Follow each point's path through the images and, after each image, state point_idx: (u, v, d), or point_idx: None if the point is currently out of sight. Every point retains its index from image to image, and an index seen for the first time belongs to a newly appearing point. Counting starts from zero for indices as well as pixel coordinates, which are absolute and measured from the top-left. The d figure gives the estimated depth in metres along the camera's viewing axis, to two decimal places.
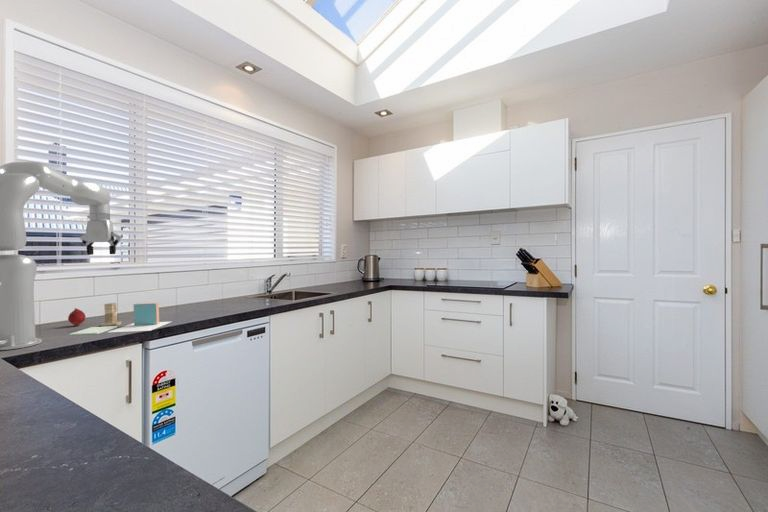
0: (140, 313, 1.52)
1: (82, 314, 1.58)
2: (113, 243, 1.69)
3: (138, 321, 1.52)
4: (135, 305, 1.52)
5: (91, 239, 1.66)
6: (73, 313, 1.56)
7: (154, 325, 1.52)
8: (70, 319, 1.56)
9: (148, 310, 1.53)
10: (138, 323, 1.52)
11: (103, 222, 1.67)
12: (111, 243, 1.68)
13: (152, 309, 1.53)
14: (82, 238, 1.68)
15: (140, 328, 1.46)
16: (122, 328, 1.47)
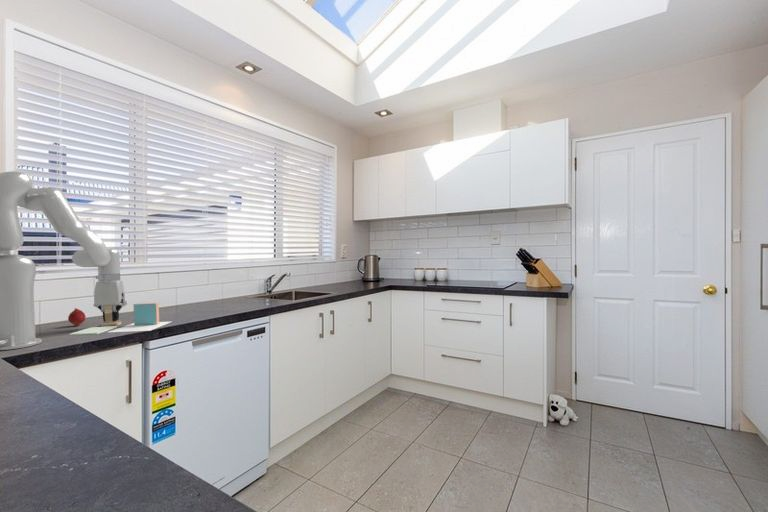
0: (140, 313, 1.52)
1: (82, 314, 1.58)
2: (116, 310, 1.54)
3: (138, 321, 1.52)
4: (135, 305, 1.52)
5: (100, 302, 1.52)
6: (73, 313, 1.56)
7: (154, 325, 1.52)
8: (70, 319, 1.56)
9: (148, 310, 1.53)
10: (138, 323, 1.52)
11: (113, 284, 1.53)
12: (114, 309, 1.54)
13: (152, 309, 1.53)
14: (96, 305, 1.54)
15: (140, 328, 1.46)
16: (122, 328, 1.47)
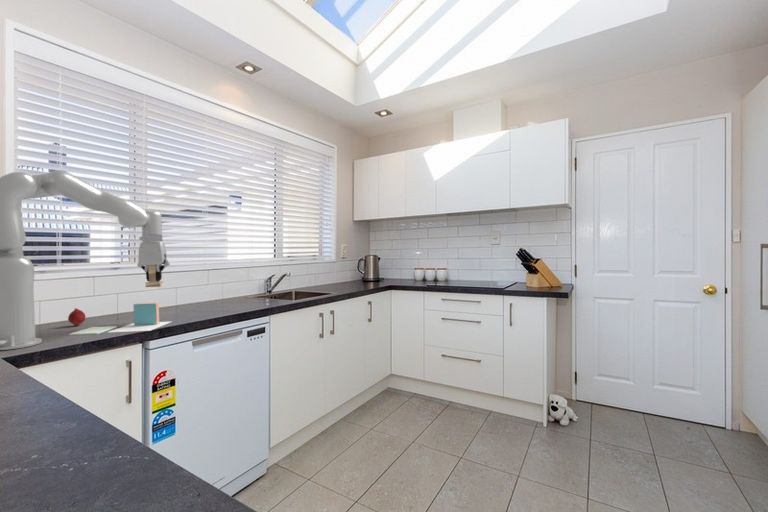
0: (140, 313, 1.52)
1: (82, 314, 1.58)
2: (160, 270, 1.60)
3: (138, 321, 1.52)
4: (135, 305, 1.52)
5: (144, 262, 1.57)
6: (73, 313, 1.56)
7: (154, 325, 1.52)
8: (70, 319, 1.56)
9: (148, 310, 1.53)
10: (138, 323, 1.52)
11: (157, 244, 1.58)
12: (157, 269, 1.59)
13: (152, 309, 1.53)
14: (140, 265, 1.59)
15: (140, 328, 1.46)
16: (122, 328, 1.47)
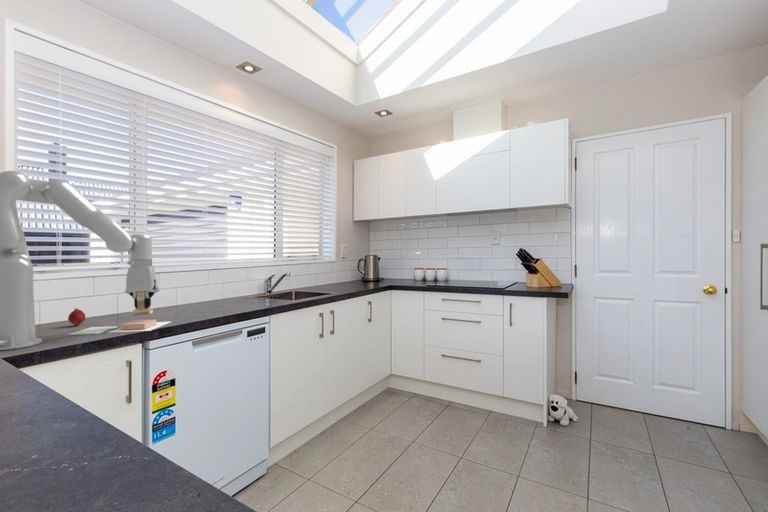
0: None
1: (82, 314, 1.58)
2: (149, 296, 1.51)
3: None
4: (123, 329, 1.44)
5: (132, 289, 1.48)
6: (73, 313, 1.56)
7: (154, 325, 1.52)
8: (70, 319, 1.56)
9: None
10: None
11: (146, 270, 1.49)
12: (146, 296, 1.50)
13: None
14: (127, 291, 1.50)
15: None
16: None
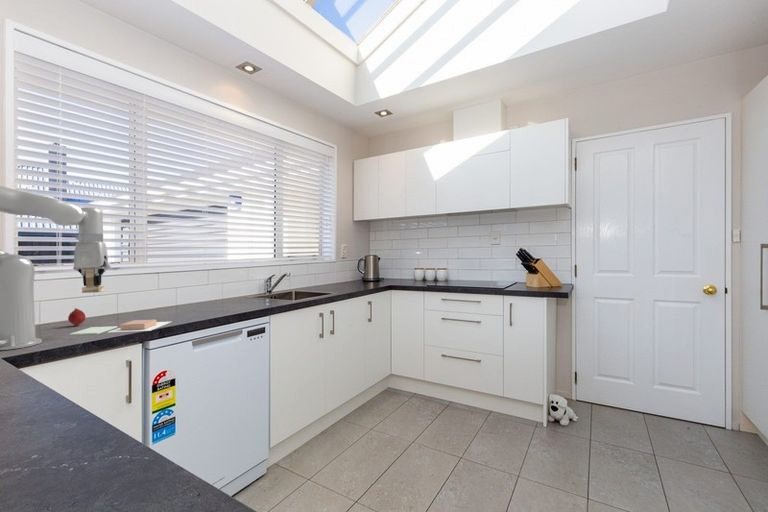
0: None
1: (82, 314, 1.58)
2: (98, 273, 1.42)
3: None
4: (123, 329, 1.44)
5: (80, 265, 1.40)
6: (73, 313, 1.56)
7: (154, 325, 1.52)
8: (70, 319, 1.56)
9: None
10: None
11: (95, 245, 1.41)
12: (96, 273, 1.42)
13: None
14: (76, 268, 1.42)
15: None
16: None
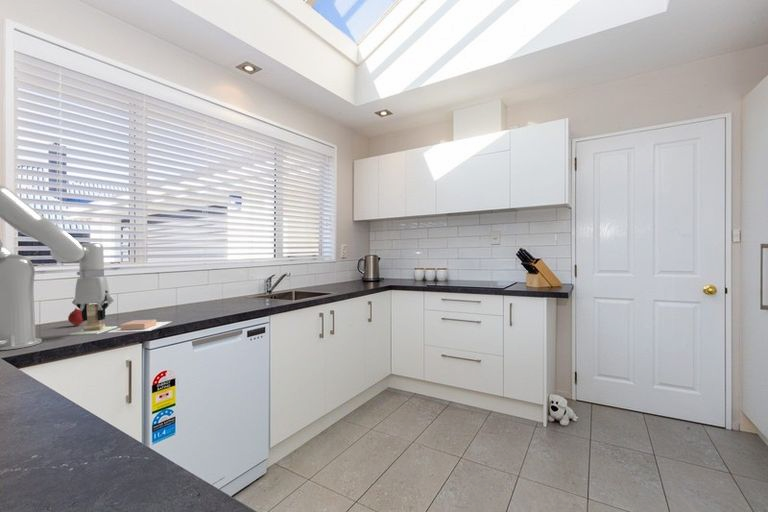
0: None
1: None
2: (102, 308, 1.43)
3: None
4: (123, 329, 1.44)
5: (81, 301, 1.40)
6: (73, 313, 1.56)
7: (154, 325, 1.52)
8: (70, 319, 1.56)
9: None
10: None
11: (96, 280, 1.41)
12: (100, 307, 1.42)
13: None
14: (75, 302, 1.42)
15: None
16: None
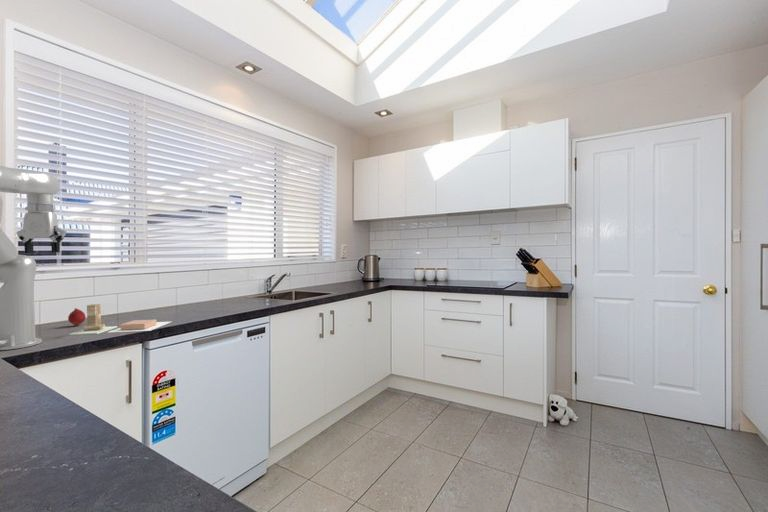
0: None
1: (82, 314, 1.58)
2: (56, 239, 1.43)
3: None
4: (123, 329, 1.44)
5: (29, 235, 1.41)
6: (73, 313, 1.56)
7: (154, 325, 1.52)
8: (70, 319, 1.56)
9: None
10: None
11: (44, 215, 1.41)
12: (53, 239, 1.43)
13: None
14: (19, 233, 1.42)
15: None
16: None
